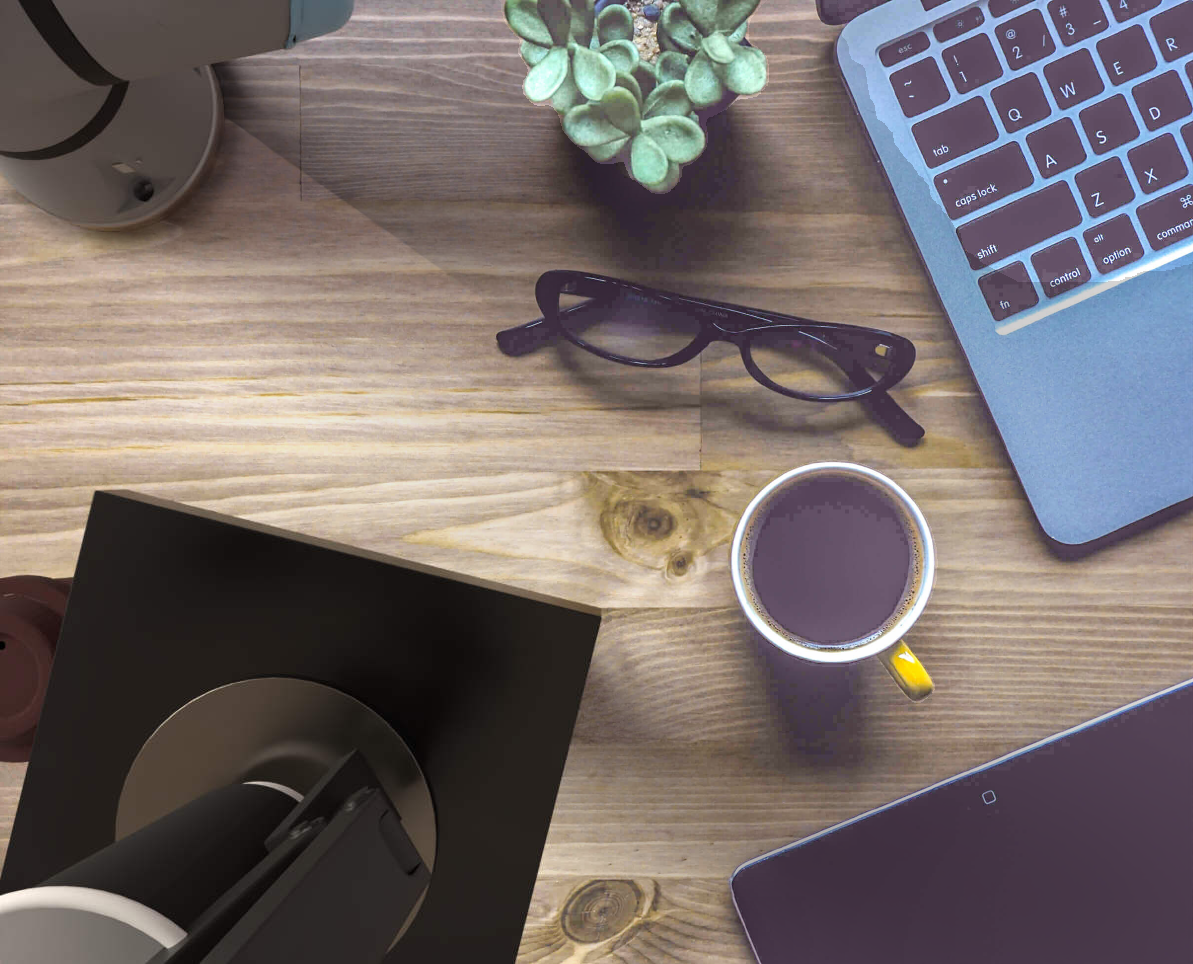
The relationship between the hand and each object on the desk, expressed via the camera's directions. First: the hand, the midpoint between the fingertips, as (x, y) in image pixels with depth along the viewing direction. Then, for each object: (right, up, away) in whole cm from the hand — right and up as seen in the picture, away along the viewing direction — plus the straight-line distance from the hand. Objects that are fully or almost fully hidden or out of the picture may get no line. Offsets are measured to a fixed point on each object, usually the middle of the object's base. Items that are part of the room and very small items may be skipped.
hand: (257, 856), depth 29 cm
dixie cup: (0, 0, 0) cm, 0 cm away
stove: (0, 0, +4) cm, 4 cm away
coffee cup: (-20, +2, +32) cm, 38 cm away
